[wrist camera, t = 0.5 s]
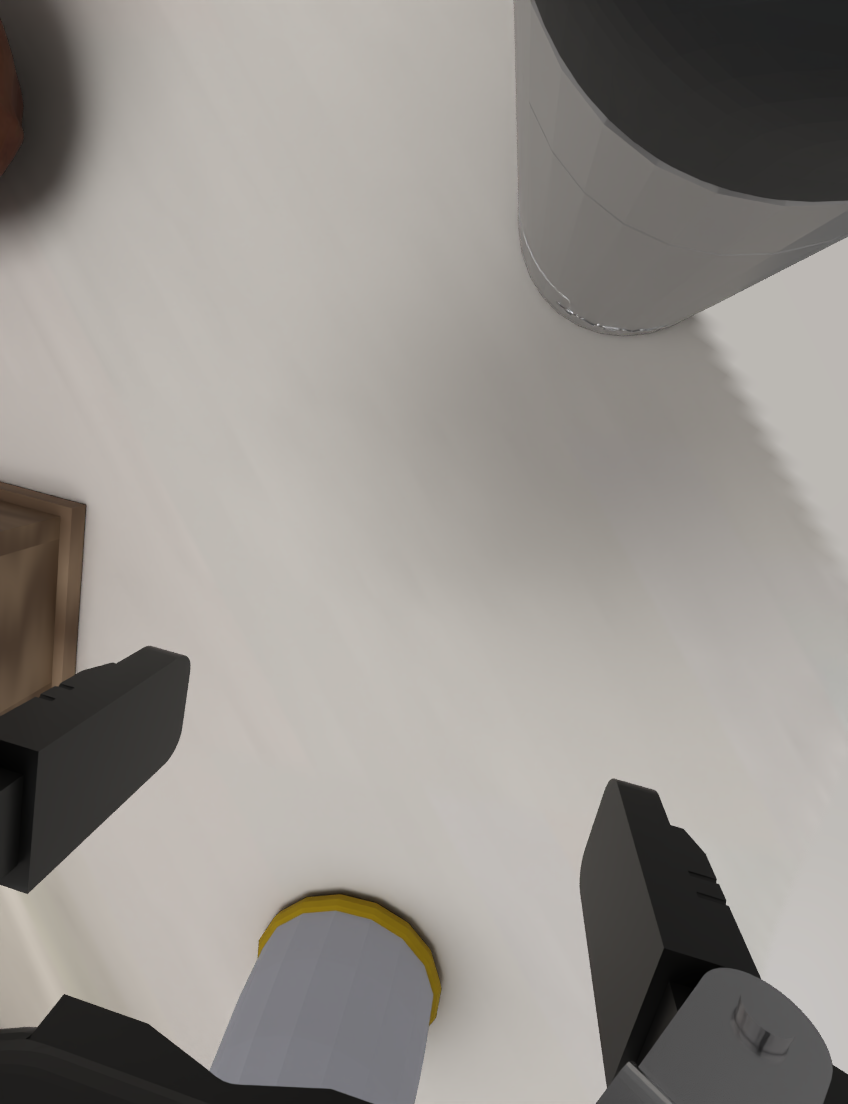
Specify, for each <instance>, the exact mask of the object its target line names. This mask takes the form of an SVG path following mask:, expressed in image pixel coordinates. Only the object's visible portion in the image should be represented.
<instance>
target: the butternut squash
mask: <svg viewBox="0 0 848 1104" xmlns="http://www.w3.org/2000/svg"><path fill="white" fill-rule="evenodd" d="M22 118H23V98H22V92H21V89H20V85H19V81H18V77H17V73H16V69H15V65H14V60H13V56H12V52H11V49H10V46H9V43H8V40H7V36H6V33H5V30H4V27H3V24H2V21H1V19H0V176H1V175H2V174H3V173H4V171H5V170H6V168H7V167H8V165H9V164H10V163H11V161H12V160H13V158H14V156H15V155H16V153H17V151H18V149H19V148H20V146H21V144H22V143H23V139H24V132H23V129H22Z"/></svg>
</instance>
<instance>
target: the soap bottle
mask: <svg viewBox="0 0 848 1104" xmlns="http://www.w3.org/2000/svg"><path fill="white" fill-rule="evenodd" d="M440 993H441V984H440V979H439V976H438V973H437V970H436V966H435V963H434V960H433V956H432V953H431V950H430V949H429V948H428V946H427V945H426V944H425V943H424V942H423V940H422V939H421V938H420V937H419V935H418V934H417V933H416V932H415V931H414V929H413V928H412V927H411V926H410V924H409V923H408V922H406V921H404V920H403V919H401V918H400V917H398V916H396V915H395V914H393V913H391V912H390V911H388V910H387V909H385V908H383V907H382V906H380V905H379V904H377V903H374V902H370V901H366V900H362V899H358V898H354V897H350V896H346V895H342V894H337V895H326V896H315V897H306V898H304V899H302V900H301V901H299V902H297V903H295V904H293V905H291V906H290V907H288V908H286V909H284V910H282V911H280V912H279V913H278V914H277V915H276V916H275V917H274V919H273V920H272V922H271V923H270V925H269V926H268V928H267V929H266V931H265V932H264V934H263V935H262V937H261V938H260V940H259V947H258V959H257V961H256V963H255V965H254V968H253V970H252V972H251V974H250V976H249V978H248V980H247V982H246V984H245V986H244V988H243V991H242V993H241V995H240V997H239V999H238V1002H237V1004H236V1007H235V1009H234V1012H233V1014H232V1016H231V1019H230V1021H229V1024H228V1026H227V1029H226V1031H225V1034H224V1036H223V1039H222V1041H221V1044H220V1046H219V1049H218V1051H217V1054H216V1056H215V1059H214V1061H213V1063H212V1066H211V1068H210V1072H211V1073H212V1074H214V1075H215V1076H216V1077H218V1078H219V1079H221V1080H223V1081H225V1082H228V1083H231V1084H241V1085H262V1086H284V1087H305V1088H326V1089H333V1090H336V1091H339V1092H342V1093H345V1094H348V1095H350V1096H353V1097H356V1098H359V1099H362V1100H364V1101H367V1102H370V1103H373V1104H414V1103H415V1099H416V1094H417V1089H418V1085H419V1080H420V1075H421V1069H422V1064H423V1059H424V1053H425V1047H426V1041H427V1034H428V1027H429V1025H430V1024H431V1023H432V1022H433V1021H434V1019H435V1018H436V1015H437V1009H438V1004H439V999H440Z"/></svg>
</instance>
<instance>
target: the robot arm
mask: <svg viewBox="0 0 848 1104" xmlns="http://www.w3.org/2000/svg"><path fill="white" fill-rule="evenodd" d="M513 1H514V28H515V74H516V120H517V166H518V225H519V235H520V242H521V250H522V255H523V258H524V261H525V264H526V266H527V269H528V272H529V275H530V277H531V279H532V281H533V282H534V284H535V285H536V287H537V288H538V290H539V292H540V293H541V295H542V296H543V298H544V299H545V300H546V301H547V302H548V303H549V304H550V305H551V306H552V307H553V308H554V309H555V310H556V311H557V312H558V313H559V314H561V315H562V316H564V317H566V318H567V319H569V320H570V321H572V322H574V323H575V324H577V325H578V326H581V327H584V328H587V329H590V330H593V331H596V332H598V333H602V334H612V335H622V336H628V335H637V334H646V333H651V332H654V331H657V330H660V329H663V328H666V327H669V326H672V325H675V324H677V323H679V322H681V321H683V320H685V319H686V318H688V317H690V316H692V315H694V314H696V313H698V312H701V311H703V310H705V309H707V308H709V307H711V306H713V305H715V304H717V303H719V302H721V301H723V300H725V299H726V298H729V297H731V296H733V295H735V294H736V293H738V292H740V291H742V290H744V289H746V288H748V287H750V286H752V285H754V284H756V283H758V282H760V281H762V280H764V279H766V278H768V277H770V276H772V275H774V274H775V273H777V272H780V271H781V270H783V269H785V268H787V267H789V266H791V265H793V264H795V263H797V262H799V261H801V260H803V259H805V258H807V257H809V256H811V255H813V254H815V253H817V252H819V251H821V250H823V249H824V248H826V247H828V246H830V245H832V244H834V243H836V242H838V241H840V240H842V239H844V238H846V237H848V0H513ZM189 675H190V660H189V658H188V657H187V656H184V655H181V654H177V653H174V652H170V651H167V650H163V649H160V648H156V647H153V646H146V647H144V648H142V649H141V650H139V651H137V652H135V653H134V654H132V655H130V656H129V657H127V658H125V659H123V660H122V661H120V662H118V663H117V664H116V663H109V664H105V665H102V666H98V667H94V668H90V669H87V670H83V671H81V672H79V673H77V674H76V675H74V676H72V677H70V678H68V679H67V680H65V681H63V682H61V683H60V685H59V686H54V687H52V688H50V689H49V690H47V691H45V692H43V693H41V694H40V697H39V698H38V697H34V698H32V699H30V700H29V701H27V702H25V703H23V704H21V705H20V706H18V707H16V708H14V709H12V710H11V711H9V712H7V713H5V714H3V715H2V716H0V885H3V886H6V887H8V888H11V889H14V890H17V891H20V892H23V893H26V894H28V893H29V892H30V891H31V890H32V889H33V888H34V887H35V886H36V885H37V884H39V883H40V882H41V881H42V880H43V879H44V878H45V877H46V876H47V875H48V874H49V873H50V872H51V871H52V870H53V869H54V868H55V867H56V866H58V865H59V864H60V863H61V862H62V861H63V860H64V859H65V858H66V857H67V856H68V855H69V854H70V853H71V852H72V851H73V850H74V849H75V848H77V847H78V846H79V845H80V844H81V843H82V842H83V841H84V840H85V839H86V838H87V837H88V836H89V835H90V834H91V833H92V832H93V831H94V830H96V829H97V828H98V827H99V826H100V825H101V824H102V823H103V822H104V821H105V820H106V819H107V818H108V817H109V816H110V815H111V814H112V813H113V812H115V811H116V810H117V809H118V808H119V807H120V806H121V805H122V804H123V803H124V802H125V801H126V800H127V799H128V798H129V797H130V796H131V795H132V794H134V793H135V792H136V791H137V790H138V789H139V788H140V787H141V786H142V785H143V784H144V783H145V782H146V781H147V780H148V779H149V778H150V777H151V776H153V775H154V774H155V773H156V772H157V771H158V770H159V769H160V768H161V767H162V766H163V765H164V764H165V763H166V762H167V761H168V760H169V758H170V757H171V755H172V754H173V752H174V750H175V748H176V746H177V744H178V741H179V738H180V735H181V731H182V725H183V718H184V711H185V704H186V697H187V690H188V683H189ZM716 880H717V879H716V876H715V874H714V872H713V870H712V868H711V865H710V863H709V861H708V859H707V856H706V854H705V853H704V852H703V851H702V849H701V848H700V847H699V846H698V845H697V844H696V843H695V841H694V840H693V839H692V838H691V837H690V836H689V835H688V834H687V832H686V831H685V830H684V829H682V828H678V827H675V826H671V825H670V823H669V821H668V818H667V815H666V813H665V810H664V808H663V805H662V803H661V800H660V797H659V795H658V793H657V792H656V791H655V790H652V789H649V788H645V787H642V786H638V785H635V784H631V783H628V782H624V781H621V780H617V779H611V780H610V781H609V782H608V784H607V786H606V788H605V791H604V794H603V797H602V800H601V803H600V806H599V809H598V812H597V815H596V818H595V821H594V824H593V827H592V830H591V833H590V836H589V839H588V842H587V845H586V848H585V851H584V855H583V859H582V864H581V871H580V895H581V902H582V909H583V917H584V924H585V931H586V939H587V946H588V953H589V960H590V968H591V975H592V982H593V990H594V997H595V1004H596V1011H597V1019H598V1026H599V1033H600V1041H601V1048H602V1055H603V1063H604V1070H605V1077H606V1084H607V1089H606V1091H605V1092H604V1093H603V1095H602V1096H601V1097H600V1099H599V1100H598V1101H597V1103H596V1104H848V1074H846V1073H845V1072H843V1071H841V1070H840V1069H838V1068H837V1067H835V1066H834V1065H833V1064H832V1060H831V1057H830V1054H829V1051H828V1049H827V1046H826V1044H825V1042H824V1040H823V1039H822V1037H821V1035H820V1034H819V1032H818V1030H817V1029H816V1028H815V1026H814V1025H813V1024H812V1022H811V1021H810V1020H809V1019H808V1018H807V1016H806V1015H805V1014H804V1013H803V1012H802V1011H801V1010H800V1009H799V1008H798V1007H797V1006H796V1005H795V1004H794V1003H793V1002H792V1001H791V1000H790V999H788V998H787V997H786V996H785V995H784V994H782V993H781V992H780V991H778V990H777V989H775V988H774V987H772V986H771V985H770V984H768V983H766V982H765V981H763V980H761V978H760V975H759V973H758V971H757V969H756V966H755V964H754V962H753V960H752V957H751V955H750V953H749V951H748V948H747V946H746V944H745V942H744V939H743V937H742V935H741V933H740V930H739V928H738V926H737V924H736V921H735V919H734V917H733V915H732V912H731V910H730V908H729V906H726V899H725V897H724V894H723V892H722V890H721V888H720V885H719V884H716ZM0 1104H373V1103H370V1102H367V1101H364V1100H362V1099H359V1098H356V1097H353V1096H350V1095H348V1094H345V1093H342V1092H339V1091H336V1090H333V1089H326V1088H305V1087H284V1086H262V1085H241V1084H231V1083H228V1082H225V1081H223V1080H221V1079H219V1078H218V1077H216V1076H215V1075H214V1074H212V1073H211V1072H210V1071H208V1070H207V1069H206V1068H205V1067H203V1066H202V1065H201V1064H199V1063H198V1062H197V1061H196V1060H194V1059H193V1058H192V1057H190V1056H189V1055H188V1054H186V1053H185V1052H184V1051H183V1050H181V1049H180V1048H179V1047H177V1046H176V1045H175V1044H174V1043H172V1042H171V1041H170V1040H168V1039H167V1038H166V1037H165V1036H163V1035H162V1034H161V1033H159V1032H158V1031H157V1030H155V1029H154V1028H153V1027H152V1026H150V1025H149V1024H147V1023H144V1022H141V1021H139V1020H136V1019H133V1018H130V1017H127V1016H124V1015H122V1014H119V1013H116V1012H113V1011H110V1010H107V1009H105V1008H102V1007H99V1006H96V1005H93V1004H91V1003H88V1002H85V1001H82V1000H79V999H76V998H74V997H71V996H68V995H65V994H64V995H63V996H62V997H61V999H60V1000H59V1001H58V1002H57V1004H56V1005H55V1006H54V1007H53V1009H52V1010H51V1011H50V1012H49V1014H48V1015H47V1016H46V1017H45V1019H44V1020H43V1021H42V1022H41V1024H40V1025H39V1026H38V1027H20V1028H7V1029H0Z"/></svg>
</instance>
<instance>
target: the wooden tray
mask: <svg viewBox="0 0 848 1104" xmlns="http://www.w3.org/2000/svg"><path fill="white" fill-rule="evenodd" d="M85 511H86V505H84V504H80V503H77V502H73V501H69V500H66V499H62V498H58V497H54V496H51V495H47V494H43V493H40V492H36V491H32V490H29V489H25V488H21V487H17V486H14V485H10V484H6V483H3V482H0V716H2V715H3V714H5V713H7V712H9V711H11V710H12V709H14V708H16V707H18V706H20V705H21V704H23V703H25V702H27V701H29V700H30V699H32V698H34V697H38V698H39V697H40V694H41V693H43V692H45V691H47V690H49V689H50V688H52V687H54V686H59V685H60V683H61V682H63V681H65V680H67V679H68V678H70V677H72V676H74V675H75V664H76V649H77V634H78V618H79V603H80V588H81V573H82V557H83V542H84V527H85Z"/></svg>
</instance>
